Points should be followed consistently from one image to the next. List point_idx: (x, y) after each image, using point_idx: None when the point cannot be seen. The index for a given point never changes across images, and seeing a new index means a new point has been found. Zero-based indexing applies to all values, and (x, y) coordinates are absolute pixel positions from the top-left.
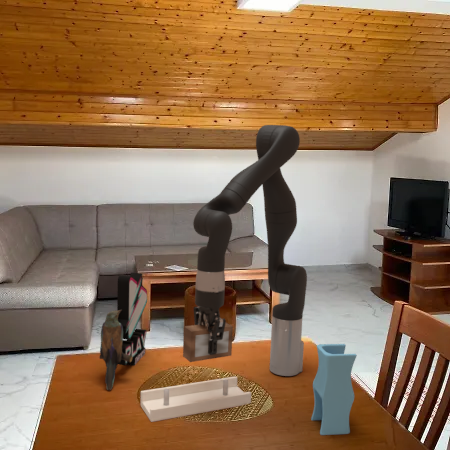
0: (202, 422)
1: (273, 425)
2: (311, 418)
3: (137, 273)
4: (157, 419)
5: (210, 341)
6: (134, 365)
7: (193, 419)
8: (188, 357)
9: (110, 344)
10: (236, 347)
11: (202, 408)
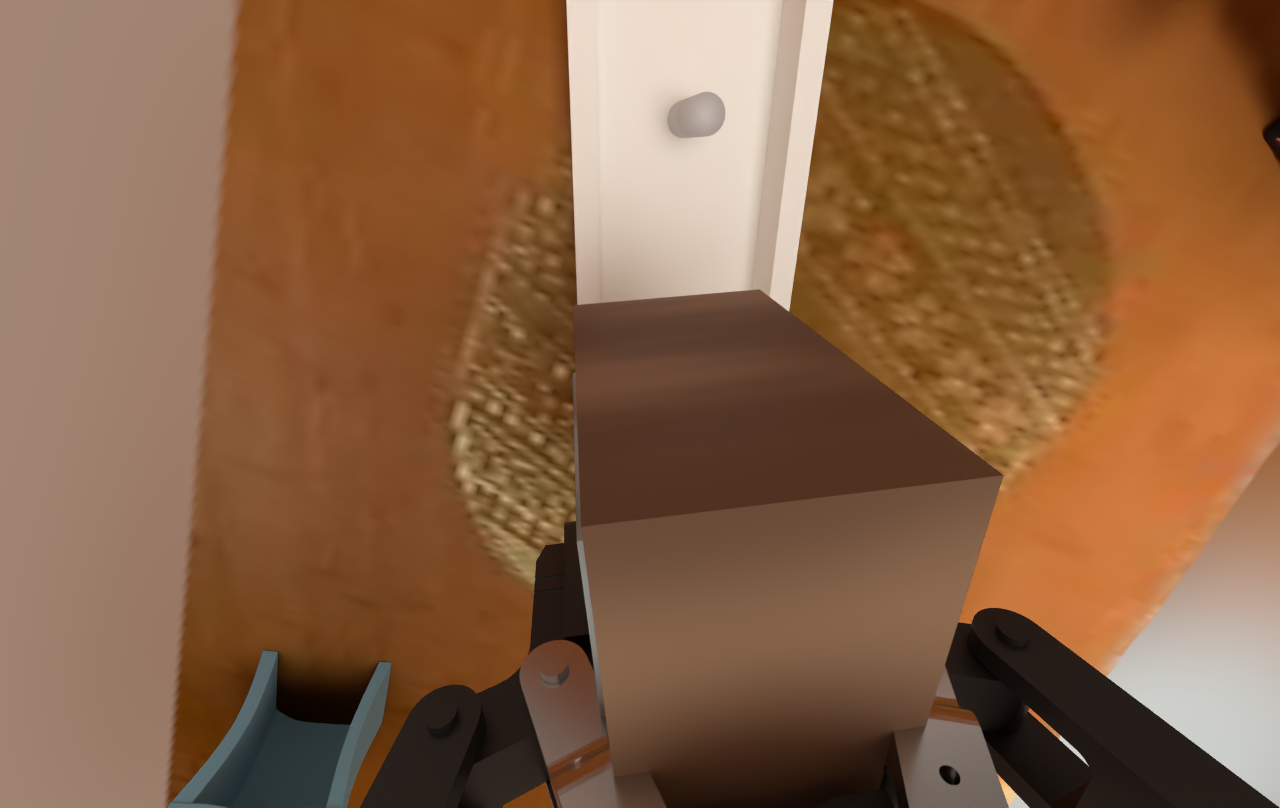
0: (475, 265)
1: (372, 538)
2: (385, 668)
3: None
4: (566, 7)
5: (567, 640)
6: (1277, 133)
7: (520, 232)
8: (626, 311)
9: None
10: (1077, 646)
11: None
